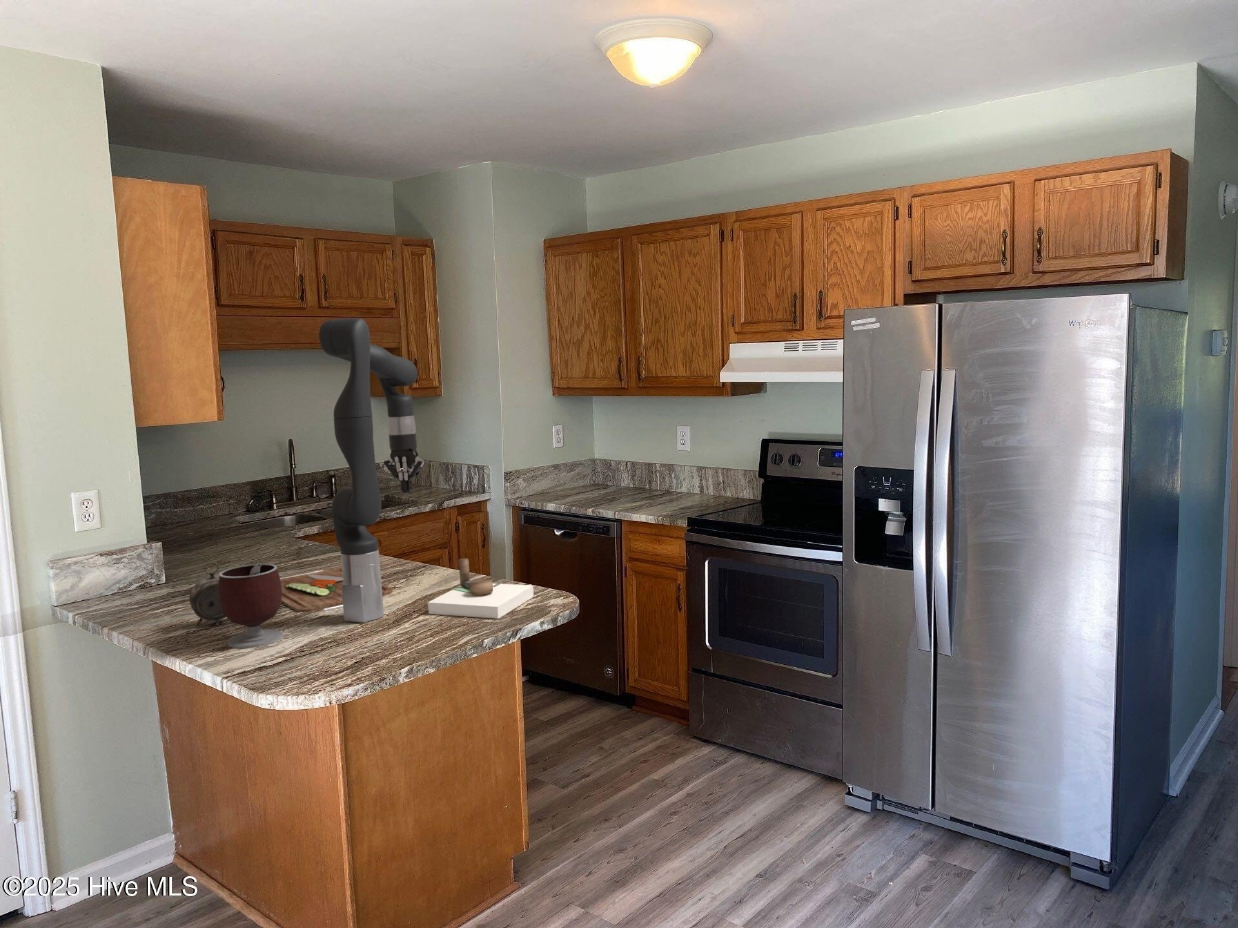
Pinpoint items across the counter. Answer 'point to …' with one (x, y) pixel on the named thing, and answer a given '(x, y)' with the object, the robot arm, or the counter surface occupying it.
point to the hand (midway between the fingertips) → (407, 492)
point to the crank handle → (475, 586)
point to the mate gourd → (251, 602)
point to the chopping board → (316, 590)
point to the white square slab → (481, 601)
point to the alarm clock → (207, 599)
